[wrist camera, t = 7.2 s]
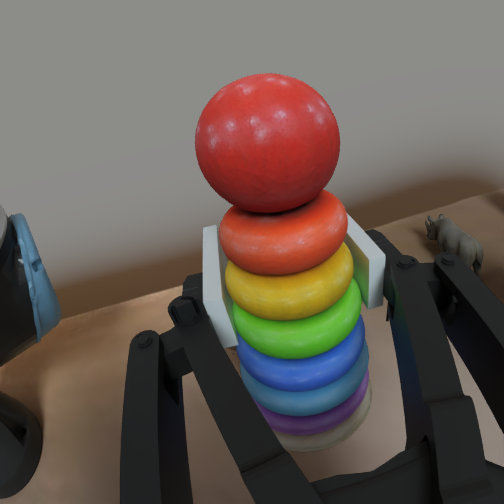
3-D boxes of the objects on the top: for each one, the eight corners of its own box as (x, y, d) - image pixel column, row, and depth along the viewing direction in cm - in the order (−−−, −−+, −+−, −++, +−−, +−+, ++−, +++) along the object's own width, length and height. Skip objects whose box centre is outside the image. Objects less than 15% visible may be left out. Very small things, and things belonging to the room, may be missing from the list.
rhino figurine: (435, 234, 45) (437, 200, 42) (485, 283, 33) (494, 244, 30) (415, 240, 45) (416, 205, 42) (463, 292, 33) (471, 251, 30)
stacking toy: (337, 474, 14) (289, 64, 5) (227, 425, 19) (82, 130, 9) (386, 373, 19) (383, 58, 10) (287, 345, 24) (222, 83, 14)
